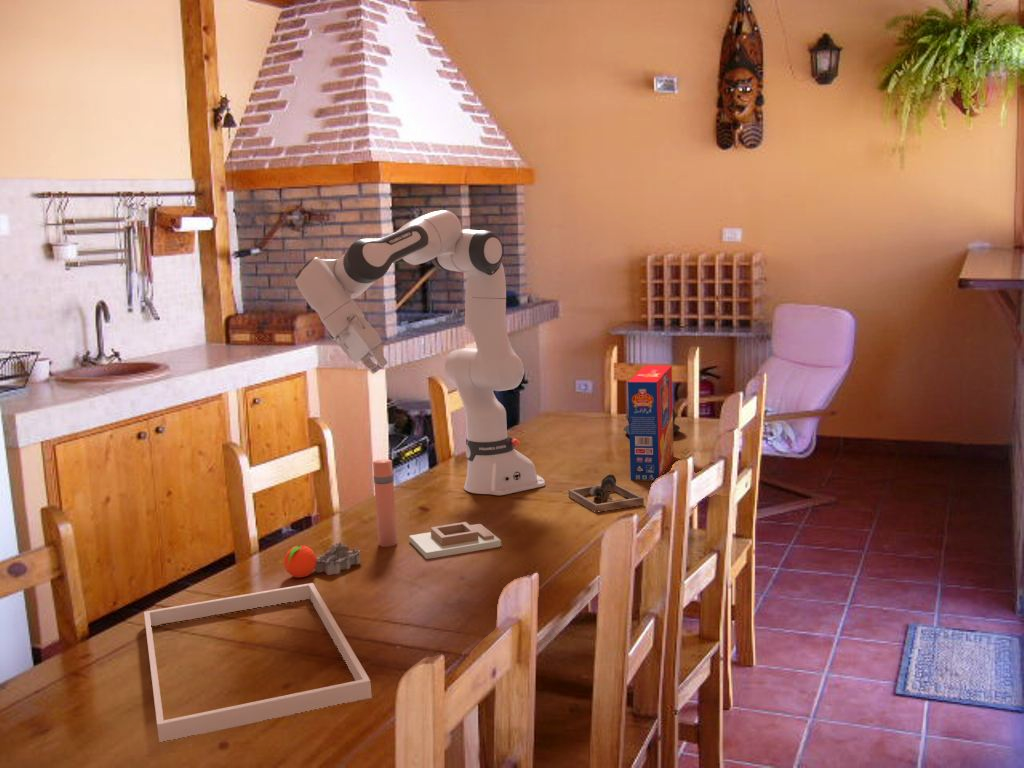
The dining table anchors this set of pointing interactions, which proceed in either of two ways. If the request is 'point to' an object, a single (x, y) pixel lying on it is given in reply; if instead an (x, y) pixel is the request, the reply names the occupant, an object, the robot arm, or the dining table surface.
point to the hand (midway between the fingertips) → (380, 368)
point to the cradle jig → (454, 540)
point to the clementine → (300, 561)
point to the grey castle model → (330, 561)
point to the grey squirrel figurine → (604, 488)
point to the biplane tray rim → (261, 708)
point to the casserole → (675, 427)
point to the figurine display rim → (630, 502)
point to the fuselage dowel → (385, 502)
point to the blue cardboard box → (650, 422)
